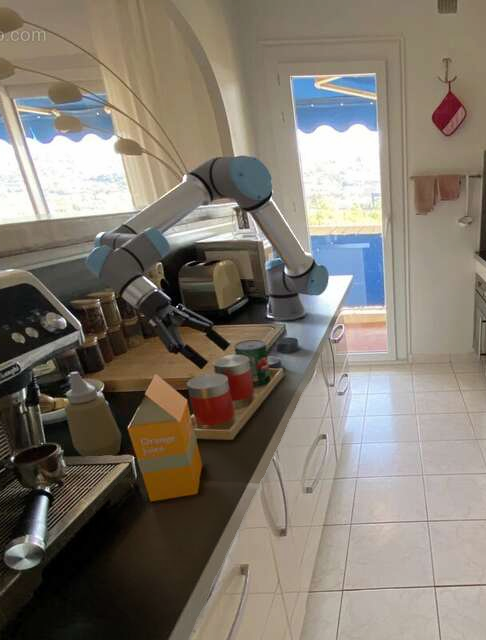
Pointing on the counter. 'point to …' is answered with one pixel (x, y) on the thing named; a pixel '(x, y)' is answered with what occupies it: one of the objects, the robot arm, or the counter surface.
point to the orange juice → (166, 443)
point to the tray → (241, 411)
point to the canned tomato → (255, 360)
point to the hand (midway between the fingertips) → (216, 356)
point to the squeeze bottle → (90, 420)
